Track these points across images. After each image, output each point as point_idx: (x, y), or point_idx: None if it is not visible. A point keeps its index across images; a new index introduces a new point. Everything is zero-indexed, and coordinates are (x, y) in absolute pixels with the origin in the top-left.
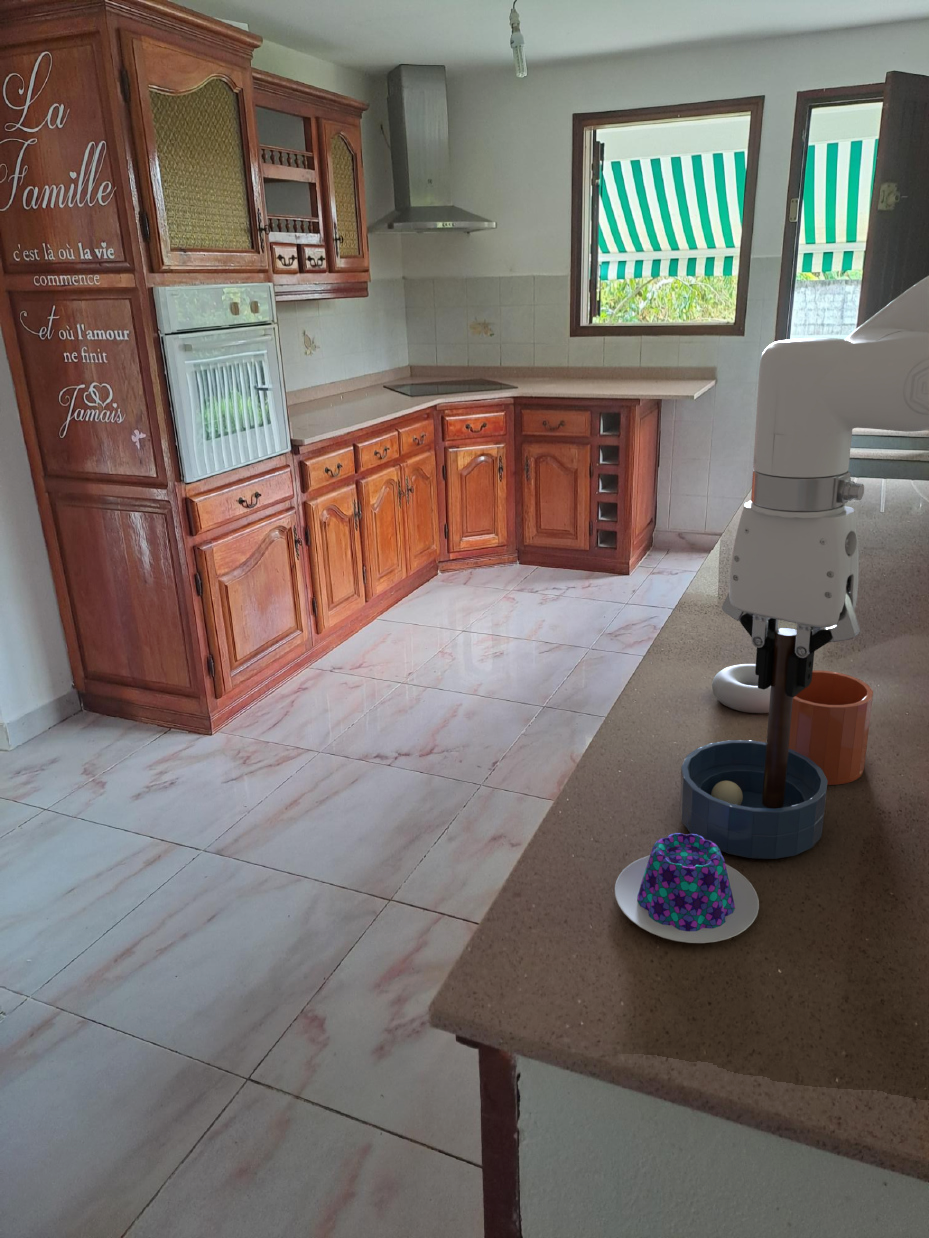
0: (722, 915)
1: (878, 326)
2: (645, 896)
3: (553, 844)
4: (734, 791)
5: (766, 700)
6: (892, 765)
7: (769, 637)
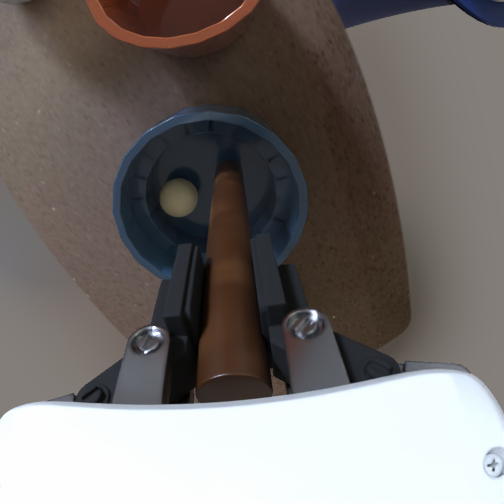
0: None
1: None
2: None
3: (125, 326)
4: (190, 206)
5: None
6: None
7: (186, 382)
